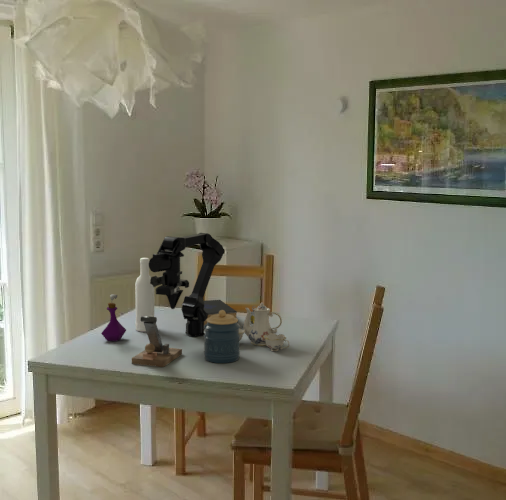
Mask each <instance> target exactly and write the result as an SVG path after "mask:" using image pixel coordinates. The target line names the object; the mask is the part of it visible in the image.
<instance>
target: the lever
mask: <svg viewBox="0 0 506 500" xmlns="http://www.w3.org/2000/svg"><path fill="white" fill-rule="evenodd" d="M140 320H141V322H144V326H145V329H146V332H145V333H146V334H147V338H148V340H149V343H151V344H153V345H154V346H155V350H154V352H161V353H162V352H163V345H164V344H163V341H162V338H161V336H160V332H159V331H160V330H159V328H158V325H157V320H158V319H157V317H156V316H154V317H149V316H141V319H140Z"/></svg>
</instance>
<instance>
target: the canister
mask: <svg viewBox="0 0 506 500" xmlns="http://www.w3.org/2000/svg"><path fill="white" fill-rule="evenodd" d="M206 321H207V324H205V325H204V333H205V334H204V335H203V337H204V338H203V340H204V341H203V343H204V344H203V345H204V346H203V357H204V360H205V361H207V362H209V363H216V364H227V363H233V362H237V361H238V360H239V359H240V356H241V355H240V353H241V351H240V341H241V340H240V334H239V328H240V327H241V325H240V324H239V323H238V321H239V319H238V318H237V317H236V318H235V317H234V316H233V315H229V314H226V312H225V311H224V310H220V311H219V314H215V315H211V316H210V317H209V318H207V319H206Z"/></svg>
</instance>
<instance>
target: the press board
mask: <svg viewBox="0 0 506 500" xmlns="http://www.w3.org/2000/svg"><path fill="white" fill-rule="evenodd" d="M154 350H155V346H154V345H153V344H151V343H150V342H149V343H147V344H146V345H145V346H144V350H142V351H141V352H139V353H137V354H135V356H133V357H131V364H133V365H142V366H150V367H159V368H164V367H166V366H167V365H169V364H171V362H173V361H174V360H176V359H178V358H179V357H180V356H182V355H183V348H174V347H170V343H164V344H163V352H162V353H161V352H154Z"/></svg>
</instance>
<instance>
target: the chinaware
mask: <svg viewBox="0 0 506 500" xmlns="http://www.w3.org/2000/svg"><path fill="white" fill-rule="evenodd" d="M253 308H254V312H255V321H254V325H253V326H252V327H251V325H250V317H251V312H252V311H251V310H250V308H249V307H247V306H245V310H246V316H245V319H244V322H243V326H244V330H241V329H240V328H239V334H240V341H241V340H242V339H243V337H244V334H245V335H246V337H248V340H249V341H250V344H251V345H254V346H258V347H259V346H263V347H265V346H267V347H268V348H269V349H270V351H271V352H278V351H279V350H283V349H287V348H289V346H290V342H289V340H288V339H287V337H286V336H285V334H277V333H278V328H280V327H281V326H282V323H283V319H282V318H283V317H281V315H280V314H279V313H277V312H273V311H271V308H269V307H267V306H266V305H265V304H264V302H262V301H261V303H260V304H259V305H258V306H257V307H256V308H255V307H253ZM274 315H276V316H278V318H279V325H278V326H274V327H272V326H271V324H270V320H269V317H271V318H272V317H273V316H274ZM284 342H287V343H288V346H283V345H284Z"/></svg>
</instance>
